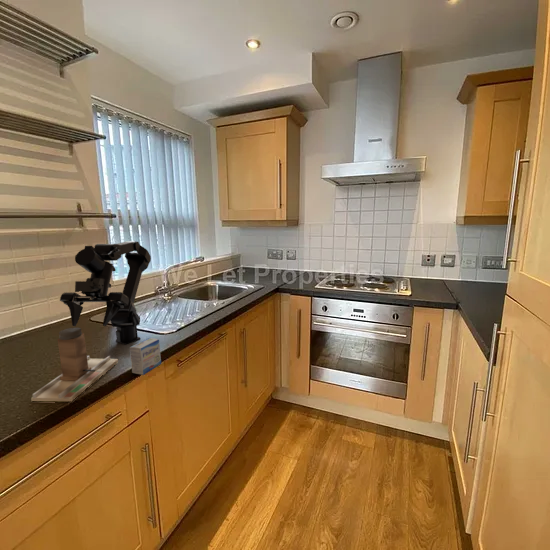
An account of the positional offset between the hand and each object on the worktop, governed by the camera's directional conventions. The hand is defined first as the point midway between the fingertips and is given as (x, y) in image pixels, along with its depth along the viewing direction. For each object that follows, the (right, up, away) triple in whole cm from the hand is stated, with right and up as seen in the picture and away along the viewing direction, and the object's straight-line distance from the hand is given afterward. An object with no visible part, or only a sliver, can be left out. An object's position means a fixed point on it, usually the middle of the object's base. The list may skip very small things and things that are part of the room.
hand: (89, 325), depth 92 cm
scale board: (-1, -15, -4) cm, 16 cm away
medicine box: (+16, -14, +3) cm, 22 cm away
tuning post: (0, -14, -4) cm, 14 cm away
